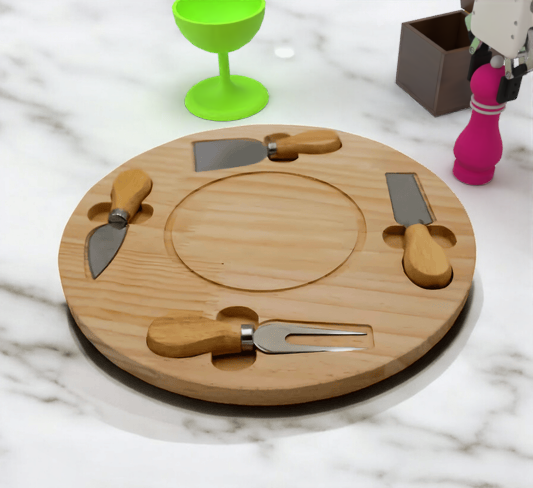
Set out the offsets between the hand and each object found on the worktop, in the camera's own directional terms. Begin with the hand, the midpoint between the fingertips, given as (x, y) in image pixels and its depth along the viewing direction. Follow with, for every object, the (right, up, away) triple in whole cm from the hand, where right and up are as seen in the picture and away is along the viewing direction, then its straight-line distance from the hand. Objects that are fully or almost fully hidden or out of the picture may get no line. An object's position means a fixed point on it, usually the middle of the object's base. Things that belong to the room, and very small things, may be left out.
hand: (491, 88), depth 93 cm
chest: (+1, +6, +29) cm, 30 cm away
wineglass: (-39, +5, +30) cm, 50 cm away
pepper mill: (+1, -11, +10) cm, 15 cm away
